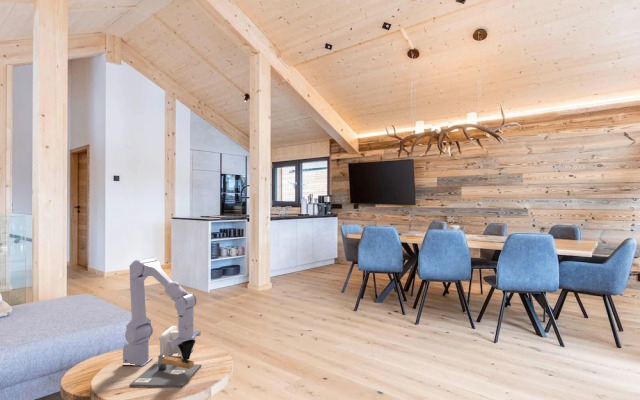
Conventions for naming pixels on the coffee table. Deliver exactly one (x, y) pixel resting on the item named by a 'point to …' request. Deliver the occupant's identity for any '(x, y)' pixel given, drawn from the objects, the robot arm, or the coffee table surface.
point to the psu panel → (165, 376)
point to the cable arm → (173, 362)
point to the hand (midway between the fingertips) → (186, 359)
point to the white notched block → (169, 342)
